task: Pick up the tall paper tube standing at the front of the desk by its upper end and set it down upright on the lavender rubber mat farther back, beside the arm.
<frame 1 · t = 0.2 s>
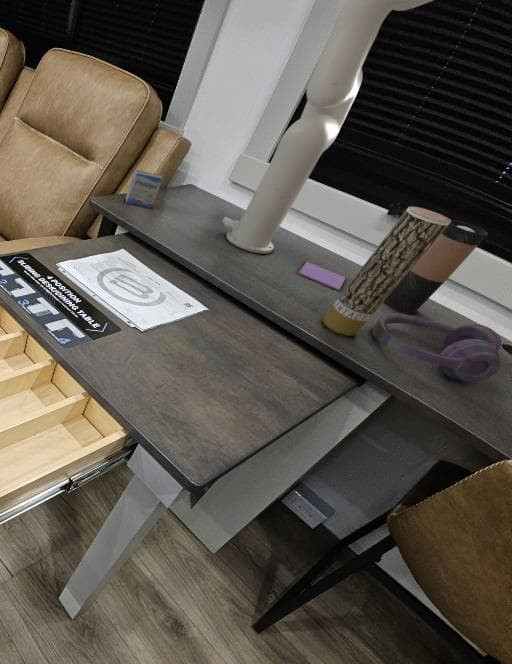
travel mug: (398, 305, 111), on the table
mat: (321, 276, 117), on the table
headphones: (420, 353, 95), on the table
medicine box: (138, 204, 136), on the table
paper tube: (337, 328, 97), on the table
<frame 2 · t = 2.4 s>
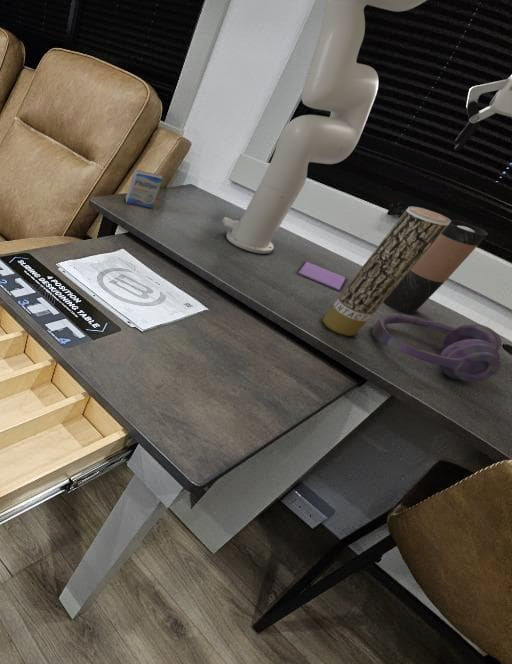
hand: (490, 158, 75), 35 cm above the table, tool pointing down, fingers open, 9 cm apart
nothing on the table moved.
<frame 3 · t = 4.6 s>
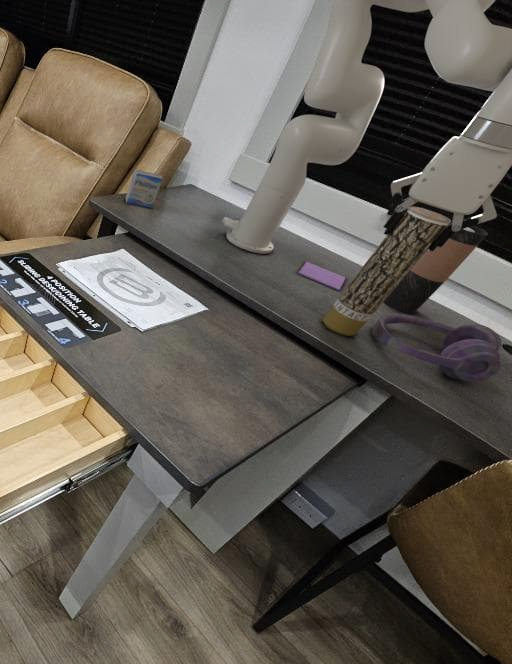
hand: (408, 240, 84), 20 cm above the table, tool pointing down, fingers closed on paper tube, 6 cm apart
paper tube: (337, 328, 97), on the table, touching gripper
everything else where it was.
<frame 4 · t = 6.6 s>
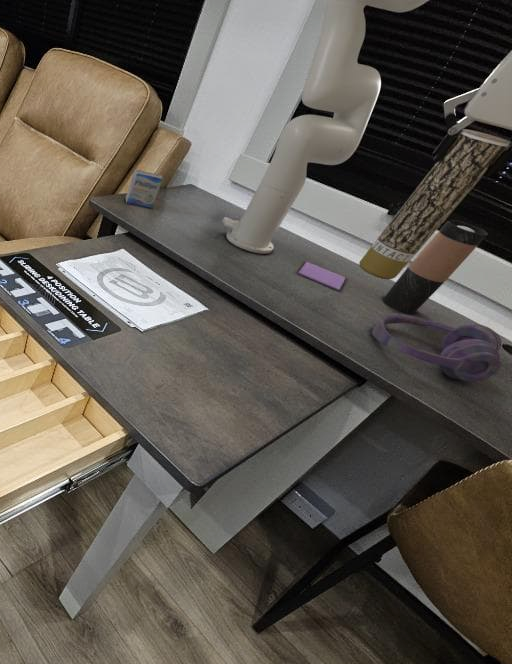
hand: (460, 167, 77), 33 cm above the table, tool pointing down, fingers closed on paper tube, 6 cm apart
paper tube: (374, 272, 90), point 12 cm above the table, touching gripper
everything else where it was.
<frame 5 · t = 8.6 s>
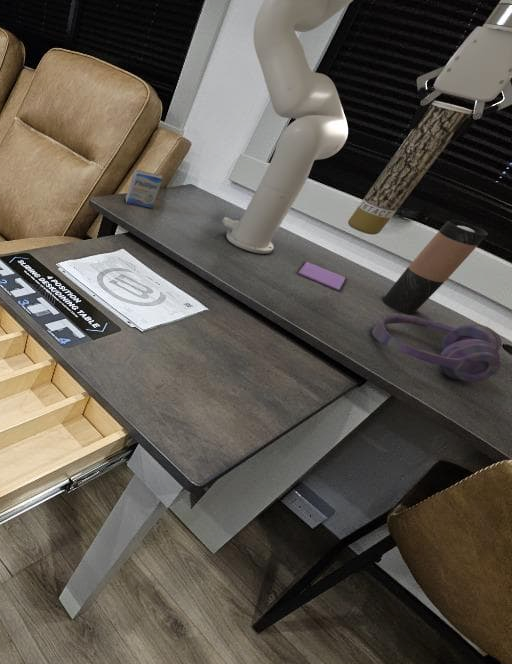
hand: (432, 133, 90), 34 cm above the table, tool pointing down, fingers closed on paper tube, 6 cm apart
paper tube: (361, 229, 104), point 14 cm above the table, touching gripper
everything else where it was.
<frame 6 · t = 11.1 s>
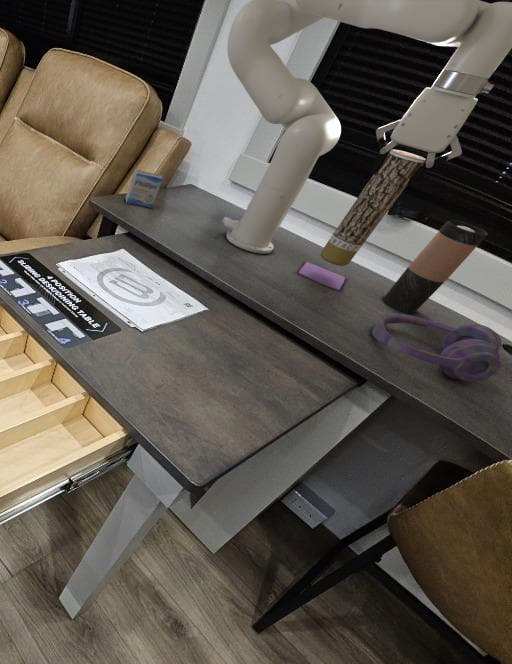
hand: (391, 178, 100), 25 cm above the table, tool pointing down, fingers closed on paper tube, 6 cm apart
paper tube: (332, 261, 114), point 4 cm above the table, touching gripper
everything else where it was.
when the fingers open (21 cm above the table, at t = 12.7 s): paper tube stays where it is, resting on mat.
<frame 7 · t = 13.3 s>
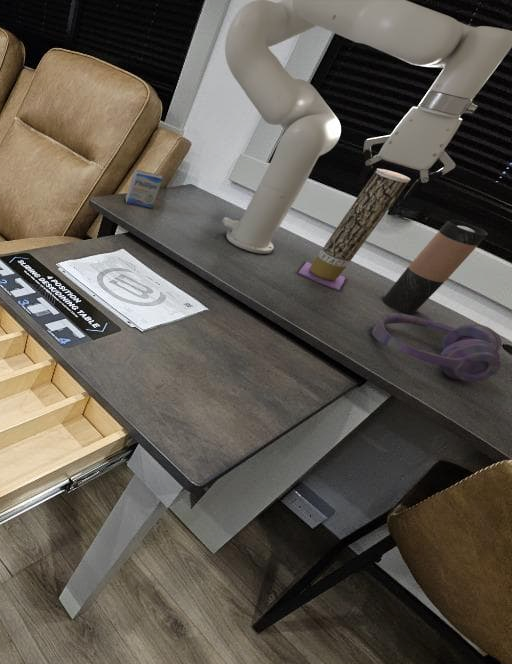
hand: (381, 191, 102), 22 cm above the table, tool pointing down, fingers open, 9 cm apart
paper tube: (321, 275, 117), resting on mat
everything else where it was.
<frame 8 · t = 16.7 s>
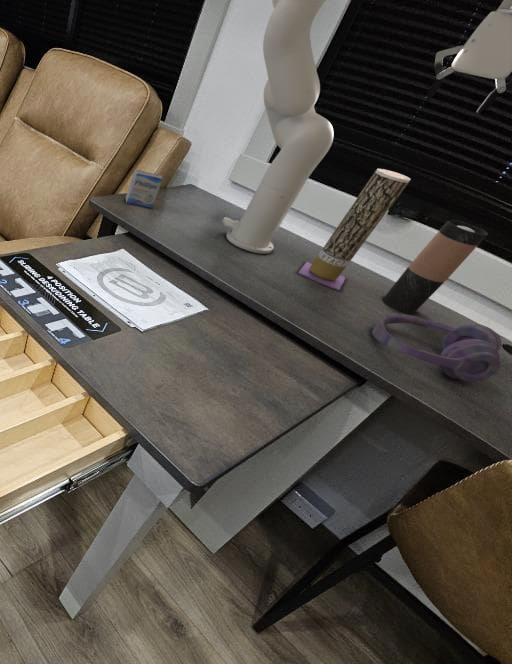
hand: (452, 106, 99), 38 cm above the table, tool pointing down, fingers open, 9 cm apart
nothing on the table moved.
at the end: paper tube 0.1 cm off-centre on the mat, point 0.2 cm above the mat's base; paper tube tilted 0°; the gripper is holding nothing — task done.
